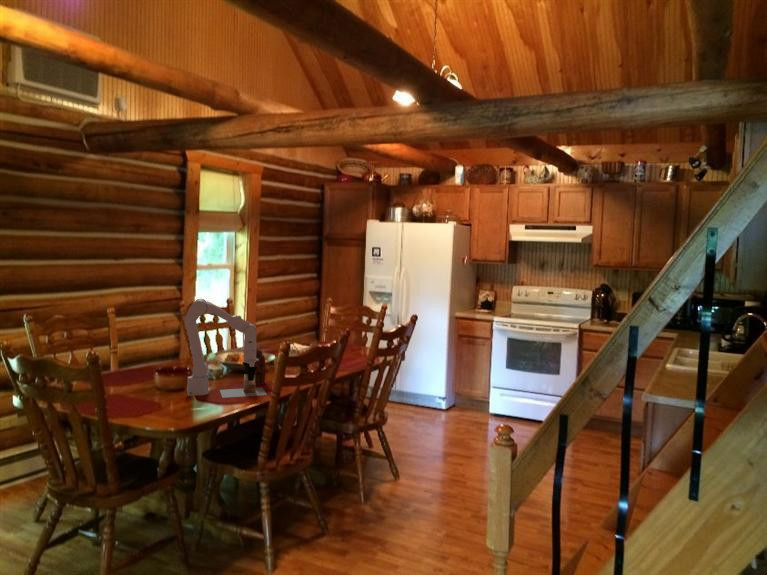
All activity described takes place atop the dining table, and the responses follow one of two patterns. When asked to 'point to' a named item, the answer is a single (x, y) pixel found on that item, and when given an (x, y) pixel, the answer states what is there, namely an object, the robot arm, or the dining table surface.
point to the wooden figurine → (260, 368)
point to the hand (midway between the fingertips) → (249, 378)
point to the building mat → (241, 393)
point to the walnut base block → (249, 389)
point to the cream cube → (248, 381)
